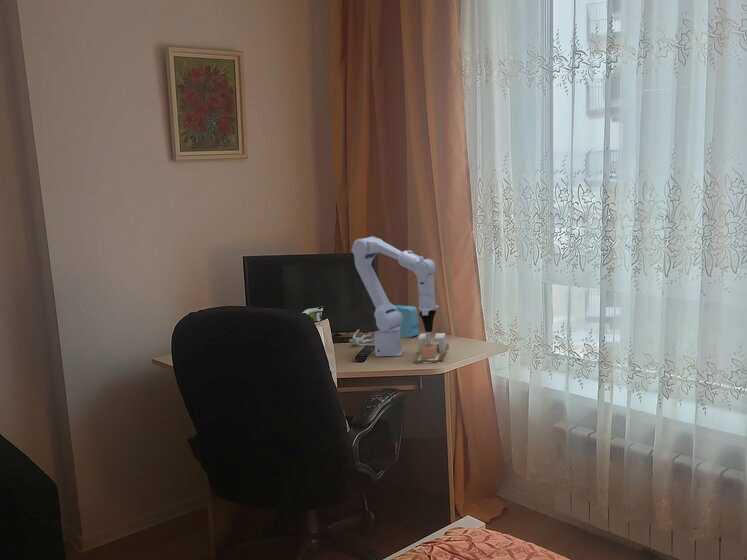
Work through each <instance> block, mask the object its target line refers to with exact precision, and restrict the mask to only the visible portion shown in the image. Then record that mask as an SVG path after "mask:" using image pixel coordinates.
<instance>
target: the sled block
mask: <svg viewBox="0 0 747 560" xmlns="http://www.w3.org/2000/svg"><path fill="white" fill-rule="evenodd" d="M425 334H426V342H425V343H426V345H422V347H421V349H420V350H421V359H427V358H436V356H437V344H438V343H433V344H434V345H431V344H432V342H431V334H430V333H425Z"/></svg>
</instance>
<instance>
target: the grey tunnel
mask: <svg viewBox="0 0 747 560" xmlns="http://www.w3.org/2000/svg"><path fill="white" fill-rule="evenodd" d="M426 334H427V333H420V334H419V336H418V337H417V346H418V349H417V350H418V351H419V353H421V350H420V349H421V347H422V345H426ZM433 341H434V342H435V343H436V342H438V344H439V351H440V352H444V351H445V349H446V344H447V338H446V332H439V333H438V332H437V333H435V335H434V338H433ZM418 351H417V352H418Z"/></svg>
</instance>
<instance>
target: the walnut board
mask: <svg viewBox="0 0 747 560" xmlns="http://www.w3.org/2000/svg"><path fill="white" fill-rule="evenodd" d="M434 344H435V343H431V345H434ZM436 344H437V356H436V358H427V359H421V353H419V351H417V352H416V355H415V357H414V359H413V361H412V363H413V364H424V363H423V362H442V361H444V359H445V357H444V356H446V353H447V352H446V351H448V348H449V347H448V346H449V343H446V349H445V351H444V352H440V351H439V343H436ZM443 358H444V359H443ZM442 363H443V362H442Z"/></svg>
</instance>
